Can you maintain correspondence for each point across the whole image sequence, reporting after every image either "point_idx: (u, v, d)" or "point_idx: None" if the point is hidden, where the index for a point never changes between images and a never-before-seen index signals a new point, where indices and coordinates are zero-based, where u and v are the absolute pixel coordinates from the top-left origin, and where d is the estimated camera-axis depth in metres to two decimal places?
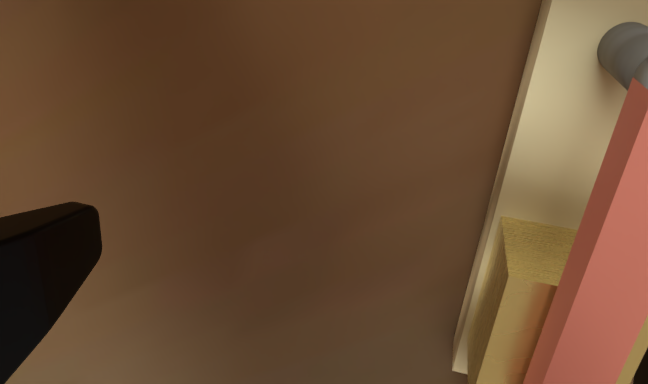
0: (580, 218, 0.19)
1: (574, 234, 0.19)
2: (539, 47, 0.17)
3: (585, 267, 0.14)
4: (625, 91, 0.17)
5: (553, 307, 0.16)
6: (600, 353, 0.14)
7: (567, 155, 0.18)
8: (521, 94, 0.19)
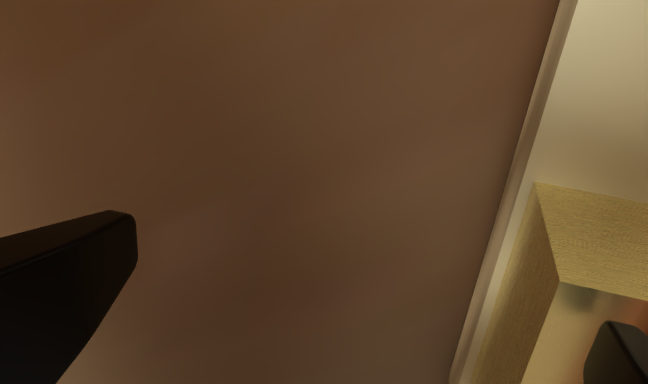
0: None
1: None
2: None
3: None
4: None
5: None
6: None
7: None
8: None
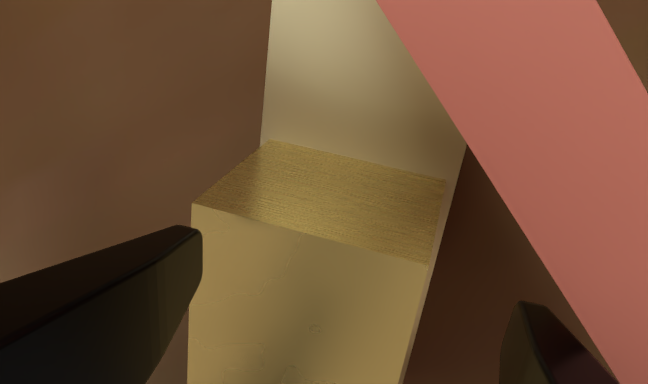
0: (375, 144, 0.13)
1: (363, 167, 0.13)
2: None
3: (487, 172, 0.06)
4: None
5: None
6: None
7: (346, 40, 0.12)
8: None
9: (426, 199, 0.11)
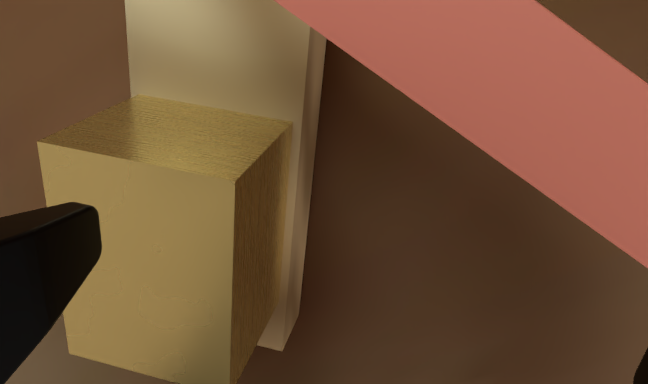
0: (228, 93, 0.14)
1: (217, 113, 0.14)
2: None
3: (293, 12, 0.07)
4: None
5: None
6: (502, 54, 0.07)
7: None
8: None
9: (263, 135, 0.13)
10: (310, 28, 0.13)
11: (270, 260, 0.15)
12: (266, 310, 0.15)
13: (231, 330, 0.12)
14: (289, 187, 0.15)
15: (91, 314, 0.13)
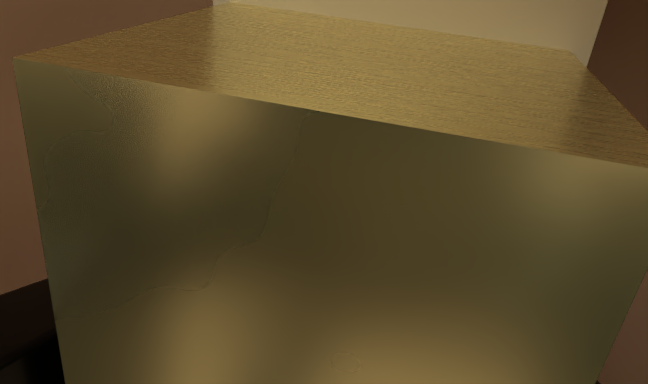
0: None
1: (409, 32, 0.07)
2: None
3: None
4: None
5: None
6: None
7: None
8: None
9: (559, 69, 0.05)
10: None
11: None
12: None
13: None
14: None
15: None
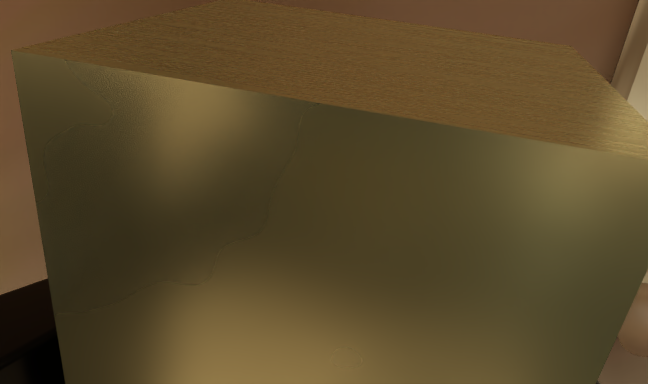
0: None
1: (411, 28, 0.07)
2: None
3: None
4: None
5: None
6: None
7: None
8: None
9: (561, 64, 0.05)
10: None
11: None
12: None
13: None
14: None
15: None
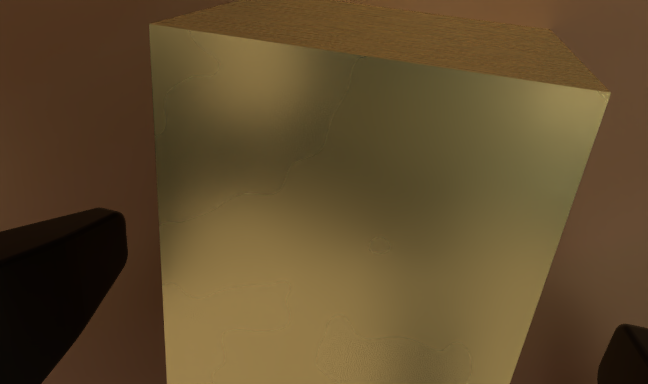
0: None
1: (420, 14, 0.08)
2: None
3: None
4: None
5: None
6: None
7: None
8: None
9: (537, 38, 0.07)
10: None
11: None
12: None
13: None
14: None
15: (219, 364, 0.07)
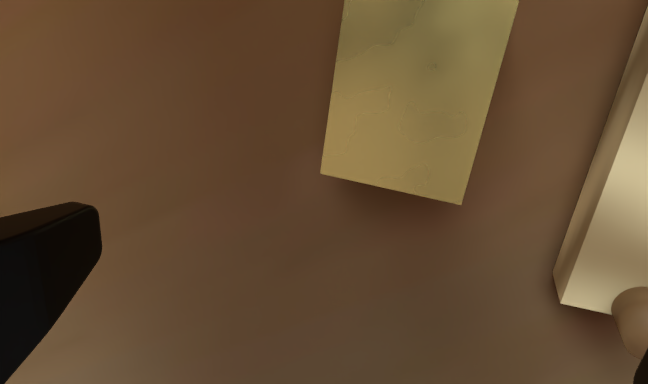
0: None
1: None
2: None
3: None
4: None
5: None
6: None
7: None
8: None
9: None
10: None
11: None
12: None
13: (479, 139, 0.15)
14: None
15: (351, 133, 0.16)
